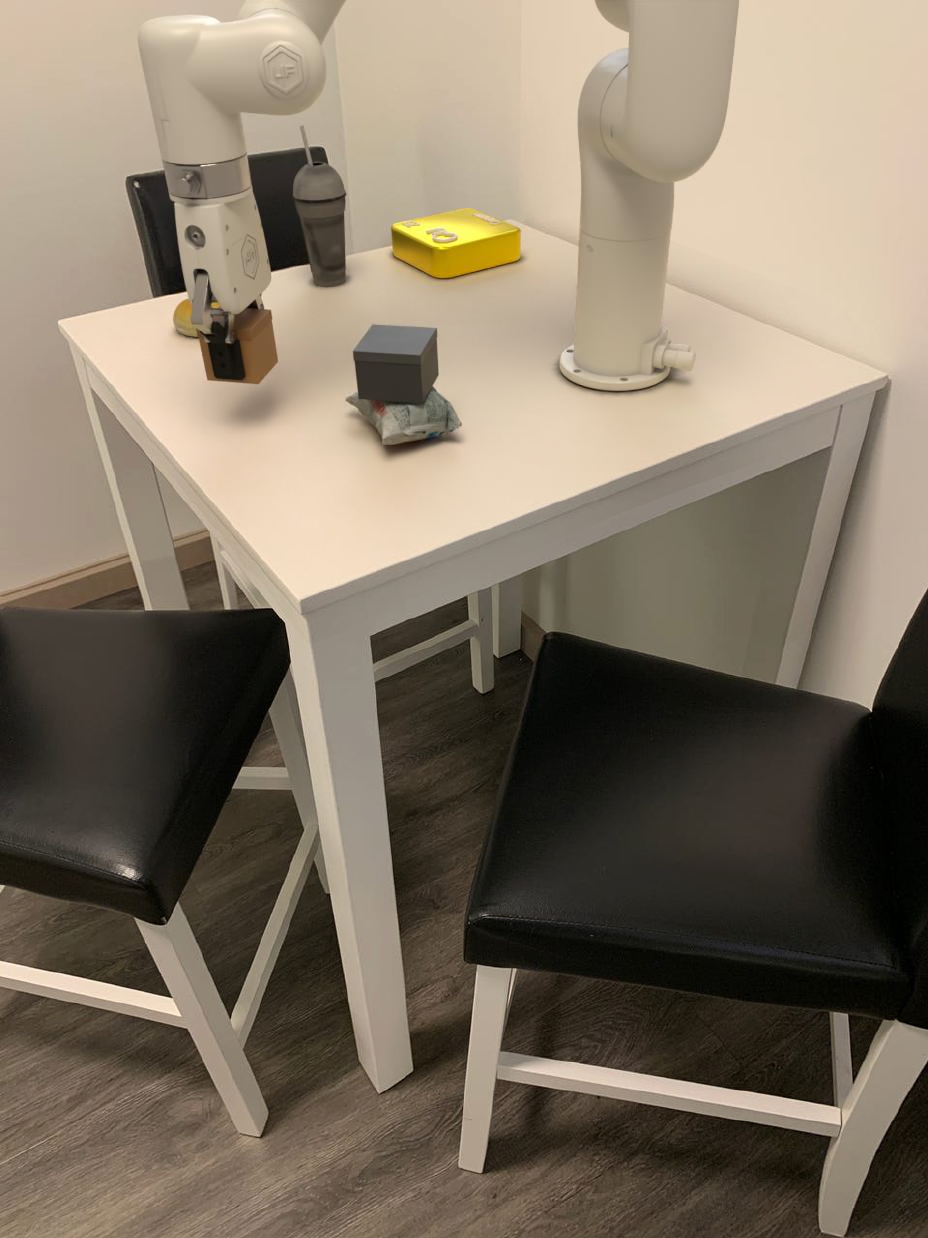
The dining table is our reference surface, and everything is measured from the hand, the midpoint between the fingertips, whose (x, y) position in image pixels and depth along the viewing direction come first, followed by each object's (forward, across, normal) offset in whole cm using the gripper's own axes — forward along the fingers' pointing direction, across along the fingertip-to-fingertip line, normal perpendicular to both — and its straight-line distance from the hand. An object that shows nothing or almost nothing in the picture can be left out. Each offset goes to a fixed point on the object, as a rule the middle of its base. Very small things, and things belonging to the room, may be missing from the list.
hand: (242, 363), depth 96 cm
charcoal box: (+1, 0, -17) cm, 17 cm away
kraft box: (+1, 0, 0) cm, 1 cm away
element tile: (+6, +54, -11) cm, 56 cm away
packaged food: (+6, 0, -17) cm, 18 cm away
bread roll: (+7, +24, +15) cm, 29 cm away
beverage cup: (+6, +42, +5) cm, 43 cm away
